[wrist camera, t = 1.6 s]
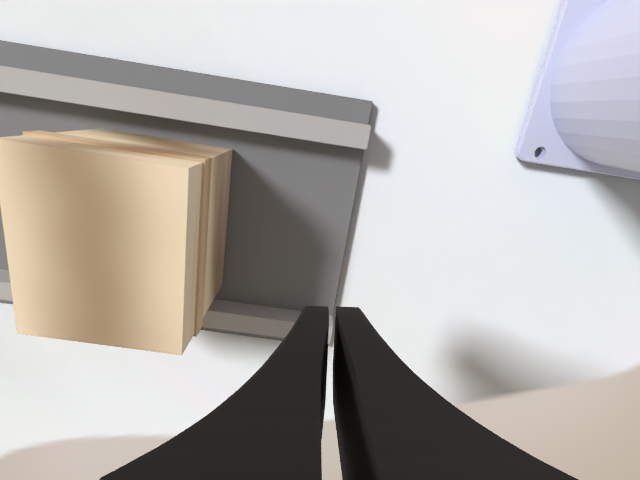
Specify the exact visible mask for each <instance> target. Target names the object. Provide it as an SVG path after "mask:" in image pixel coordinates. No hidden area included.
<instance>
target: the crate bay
mask: <svg viewBox="0 0 640 480" xmlns="http://www.w3.org/2000/svg"><path fill="white" fill-rule="evenodd" d="M372 102H373V101H367V100H360V99H354V98H348V97H342V96H336V95H330V94H324V93H318V92H312V91H306V90H300V89H293V88H287V87H281V86H275V85H269V84H263V83H257V82H251V81H245V80H239V79H232V78H226V77H220V76H214V75H208V74H202V73H196V72H190V71H184V70H178V69H171V68H165V67H159V66H153V65H147V64H141V63H135V62H129V61H123V60H117V59H110V58H104V57H98V56H92V55H86V54H80V53H74V52H68V51H62V50H56V49H49V48H43V47H37V46H31V45H25V44H19V43H13V42H7V41H1V40H0V137H10V136H21V135H23V131H36V130H41V131H47V132H66V131H77V130H88V129H99V128H102V129H108V130H115V131H121V132H128V133H134V134H141V135H147V136H153V137H160V138H166V139H173V140H179V141H185V142H192V143H198V144H205V145H211V146H217V147H224V148H230V149H233V150H232V163H231V176H230V190H229V203H228V217H227V230H226V243H225V257H224V270H223V284H222V286H221V288H220V289H219V291H218V293H217V295H216V296H215V298H214V300H213V302H212V303H211V305H210V307H209V309H208V310H207V312H206V314H205V316H204V317H203V321H202V327H201V329H200V330H207V331H215V332H222V333H230V334H237V335H244V336H252V337H259V338H266V339H274V340H281V341H283V340H284V338H285V337H286V336H287V334H288V333H289V331H290V330H291V328H292V327H293V325H294V324H295V322H296V320H297V319H298V317H299V315H300V313H301V310H302V309H303V308H304V307H305V306H328V309H329V332H328V344H330V341H331V336H332V331H333V310H334V305H335V300H336V294H337V289H338V284H339V278H340V273H341V268H342V262H343V257H344V252H345V246H346V241H347V236H348V230H349V225H350V219H351V214H352V209H353V203H354V198H355V193H356V187H357V182H358V177H359V171H360V166H361V161H362V155H363V150H364V149H366V150H367V146H368V141H369V136H370V131H371V125H368V123H369V118H370V113H371V107H372ZM0 302H1V303H8V304H13V298H12V290H11V283H10V275H9V267H8V260H7V252H6V245H5V237H4V229H3V222H2V214H1V206H0Z"/></svg>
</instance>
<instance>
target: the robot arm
mask: <svg viewBox="0 0 640 480" xmlns="http://www.w3.org/2000/svg"><path fill="white" fill-rule="evenodd" d="M538 147H541V149H542V150H541V154H540V155H539V156H538V157H535V150H536V149H537V148H538ZM515 154H516V157H517V158H518V159H519V160H522V161H525V162H531V163H537V164H544V165H550V166H556V167H562V168H569V169H575V170H581V171H587V172H594V173H600V174H606V175H612V176H619V177H625V178H631V179H637V180H640V0H563V1H562V4H561V7H560V10H559V13H558V16H557V20H556V23H555V26H554V29H553V32H552V35H551V38H550V42H549V45H548V48H547V51H546V54H545V57H544V61H543V64H542V67H541V70H540V73H539V76H538V79H537V83H536V86H535V89H534V92H533V95H532V98H531V102H530V105H529V108H528V111H527V114H526V117H525V120H524V124H523V127H522V130H521V133H520V136H519V139H518V142H517V146H516V149H515ZM328 332H329V309H328V306H305V307H304V308H303V309H302V310H301V313H300V315H299V317H298V319H297V320H296V322H295V324H294V325H293V327H292V328H291V330H290V331H289V333H288V334H287V336H286V337H285V338H284V340H283V341H282V343H281V344H280V345H279V347H278V348H277V349H276V350H275V351H274V353H273V354H272V355H271V356H270V357H269V359H268V360H267V361H266V362H265V363H264V364H263V366H262V367H261V368H260V369H259V370H258V371H257V372H256V373H255V374H254V375H253V376H252V377H251V378H250V379H249V380H248V381H247V382H246V383H245V384H244V385H243V386H242V387H241V388H240V389H238V390H237V391H236V392H235V393H234V394H233V395H231V396H230V397H229V398H228V399H227V400H225V401H224V402H223V403H222V404H221V405H220V406H218V407H217V408H216V409H214V410H213V411H212V412H211V413H209V414H208V415H207V416H205V417H204V418H202V419H201V420H199V421H198V422H197V423H195V424H194V425H192V426H191V427H189V428H188V429H186V430H185V431H183V432H181V433H180V434H178V435H177V436H175V437H174V438H172V439H170V440H169V441H167V442H165V443H164V444H162V445H160V446H159V447H157V448H155V449H154V450H152V451H150V452H148V453H146V454H144V455H142V456H141V457H139V458H137V459H135V460H133V461H131V462H130V463H128V464H126V465H124V466H122V467H120V468H119V469H117V470H115V471H113V472H111V473H109V474H107V475H105V476H103V477H101V478H100V480H322V471H321V439H322V428H323V419H324V410H325V397H326V376H327V354H328ZM333 405H334V413H335V422H336V430H337V438H338V446H339V454H340V462H341V470H342V478H343V480H578V479H576V478H574V477H572V476H570V475H568V474H566V473H564V472H562V471H560V470H558V469H556V468H554V467H552V466H550V465H548V464H546V463H544V462H542V461H540V460H538V459H537V458H535V457H533V456H531V455H530V454H528V453H526V452H525V451H523V450H521V449H519V448H517V447H516V446H514V445H513V444H511V443H509V442H508V441H506V440H504V439H502V438H501V437H499V436H498V435H496V434H494V433H493V432H491V431H490V430H488V429H487V428H485V427H483V426H482V425H480V424H479V423H477V422H476V421H474V420H473V419H472V418H470V417H469V416H467V415H466V414H465V413H463V412H462V411H460V410H459V409H458V408H456V407H455V406H453V405H452V404H451V403H449V402H448V401H447V400H445V399H444V398H443V397H442V396H440V395H439V394H438V393H437V392H436V391H434V390H433V389H432V388H431V387H430V386H428V385H427V384H426V383H425V382H424V381H423V380H421V379H420V378H419V377H418V376H417V375H416V374H415V373H414V372H413V371H412V370H411V369H410V368H409V367H408V366H407V365H406V364H405V363H404V362H403V361H402V360H401V359H400V358H399V357H398V356H397V355H396V354H395V353H394V351H393V350H392V349H391V348H390V347H389V346H388V345H387V343H386V342H385V341H384V340H383V339H382V337H381V336H380V335H379V334H378V332H377V331H376V330H375V329H374V327H373V326H372V325H371V323H370V322H369V321H368V319H367V318H366V316H365V315H364V314H363V312H362V311H361V310H360V309H359V308H358V307H336V318H335V337H334V356H333Z"/></svg>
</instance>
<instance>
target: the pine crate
mask: <svg viewBox="0 0 640 480" xmlns="http://www.w3.org/2000/svg"><path fill="white" fill-rule="evenodd" d="M232 150H233V149H230V148H224V147H217V146H211V145H205V144H198V143H192V142H185V141H179V140H173V139H166V138H160V137H153V136H147V135H141V134H134V133H128V132H121V131H115V130H108V129H102V128H99V129H88V130H77V131H66V132H47V131H41V130H36V131H23V135H21V136H10V137H0V206H1V214H2V222H3V229H4V237H5V245H6V252H7V260H8V267H9V275H10V283H11V290H12V298H13V306H14V313H15V321H16V328H17V333H18V334H25V335H33V336H40V337H48V338H55V339H63V340H71V341H78V342H86V343H93V344H101V345H108V346H116V347H123V348H131V349H139V350H146V351H154V352H161V353H169V354H176V355H182V354H183V352H184V350H185V349H186V347H187V345H188V343H189V342H190V340H191V338H192V336H197V334H198V332H199V331H200V329H201V327H202V321H203V317H204V316H205V314H206V312H207V310H208V309H209V307H210V305H211V303H212V302H213V300H214V298H215V296H216V295H217V293H218V291H219V289H220V288H221V286H222V284H223V270H224V257H225V243H226V230H227V217H228V203H229V190H230V176H231V163H232Z"/></svg>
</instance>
